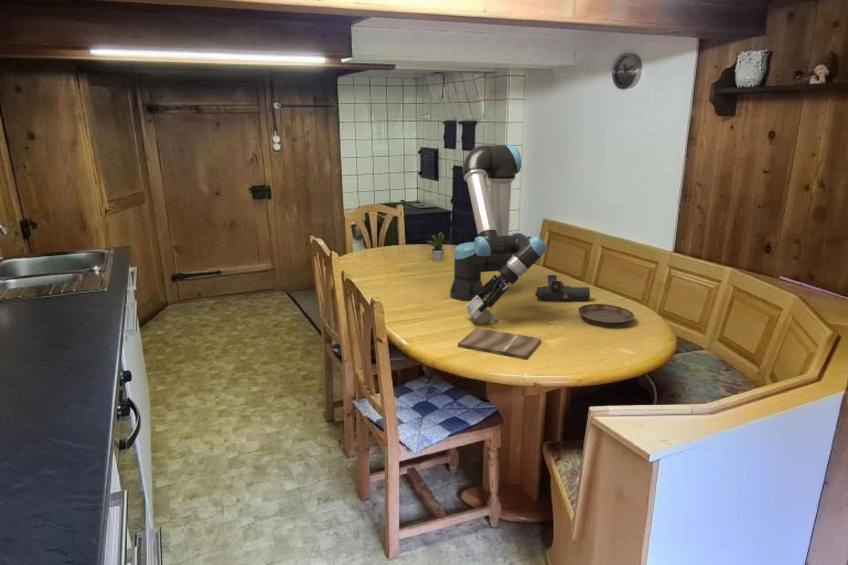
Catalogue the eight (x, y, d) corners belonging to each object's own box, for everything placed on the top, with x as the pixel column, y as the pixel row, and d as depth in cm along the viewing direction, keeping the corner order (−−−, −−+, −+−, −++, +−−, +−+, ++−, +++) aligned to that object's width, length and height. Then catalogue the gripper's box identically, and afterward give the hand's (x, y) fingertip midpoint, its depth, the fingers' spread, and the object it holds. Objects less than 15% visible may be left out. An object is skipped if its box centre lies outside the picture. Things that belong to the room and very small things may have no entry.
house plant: (426, 256, 318) (426, 228, 314) (450, 257, 316) (450, 229, 312) (423, 262, 305) (423, 233, 300) (448, 263, 303) (448, 233, 298)
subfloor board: (457, 346, 188) (457, 342, 187) (476, 330, 202) (476, 327, 202) (526, 359, 177) (526, 355, 177) (540, 341, 192) (540, 337, 191)
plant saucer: (645, 326, 207) (646, 317, 206) (597, 332, 201) (597, 323, 200) (612, 309, 226) (612, 301, 225) (567, 314, 220) (567, 306, 219)
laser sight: (590, 304, 233) (592, 281, 230) (537, 303, 233) (538, 281, 231) (584, 297, 242) (586, 275, 239) (533, 297, 243) (534, 275, 240)
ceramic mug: (472, 325, 207) (473, 306, 205) (467, 318, 215) (468, 299, 213) (499, 324, 209) (500, 305, 207) (493, 317, 217) (494, 298, 215)
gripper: (527, 284, 199) (483, 328, 201) (511, 270, 219) (471, 310, 221) (514, 270, 197) (469, 315, 199) (498, 257, 217) (458, 298, 219)
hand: (470, 312), depth 210 cm, fingers closed on ceramic mug, 8 cm apart
